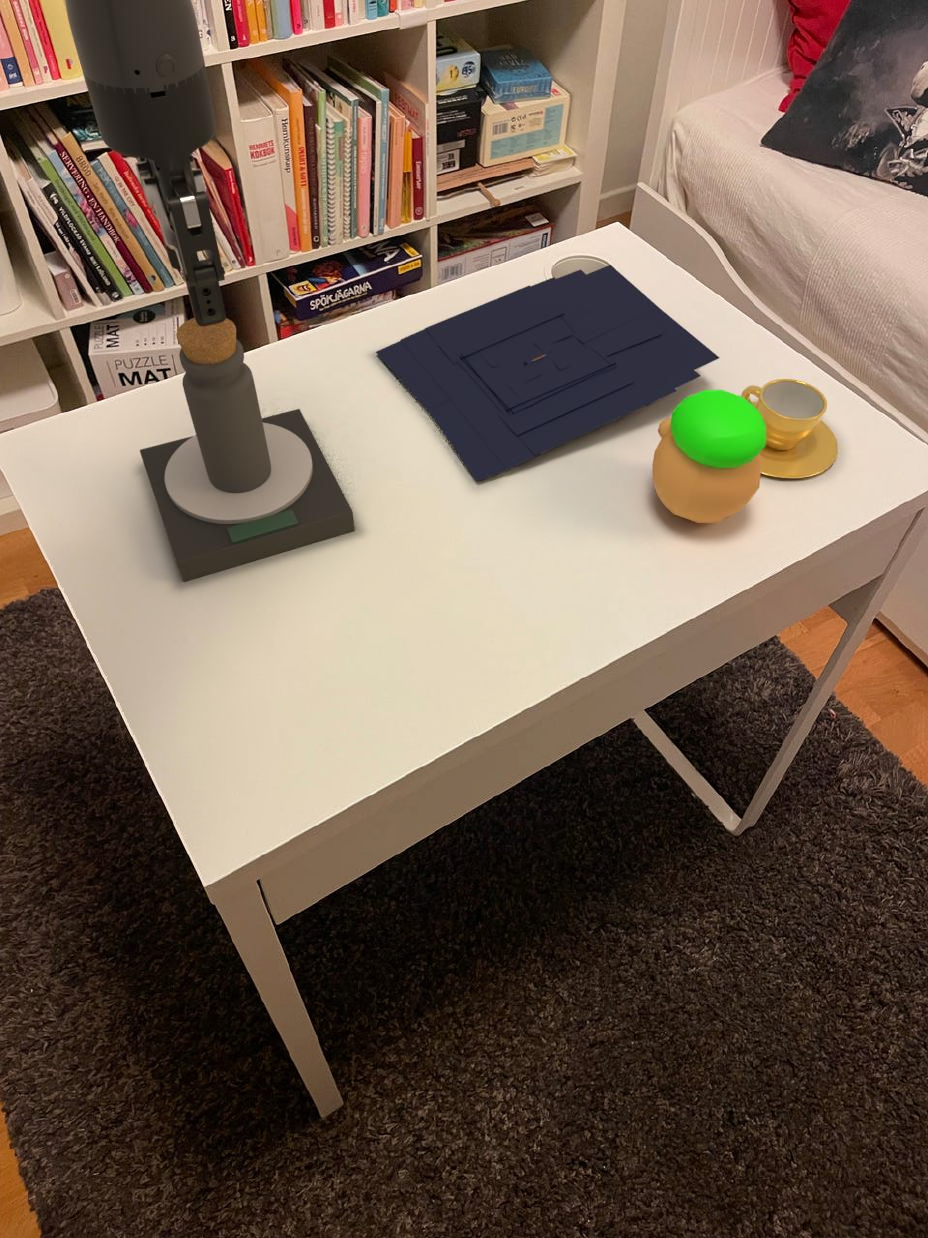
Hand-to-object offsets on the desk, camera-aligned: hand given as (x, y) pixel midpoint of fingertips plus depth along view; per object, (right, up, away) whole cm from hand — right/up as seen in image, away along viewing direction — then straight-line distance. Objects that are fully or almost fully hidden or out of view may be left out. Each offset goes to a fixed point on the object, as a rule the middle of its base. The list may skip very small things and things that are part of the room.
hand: (197, 292), depth 69 cm
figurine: (+42, -14, +17) cm, 48 cm away
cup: (+53, -7, +23) cm, 58 cm away
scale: (0, -14, +16) cm, 21 cm away
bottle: (0, -12, +14) cm, 18 cm away
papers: (+29, +1, +29) cm, 41 cm away
